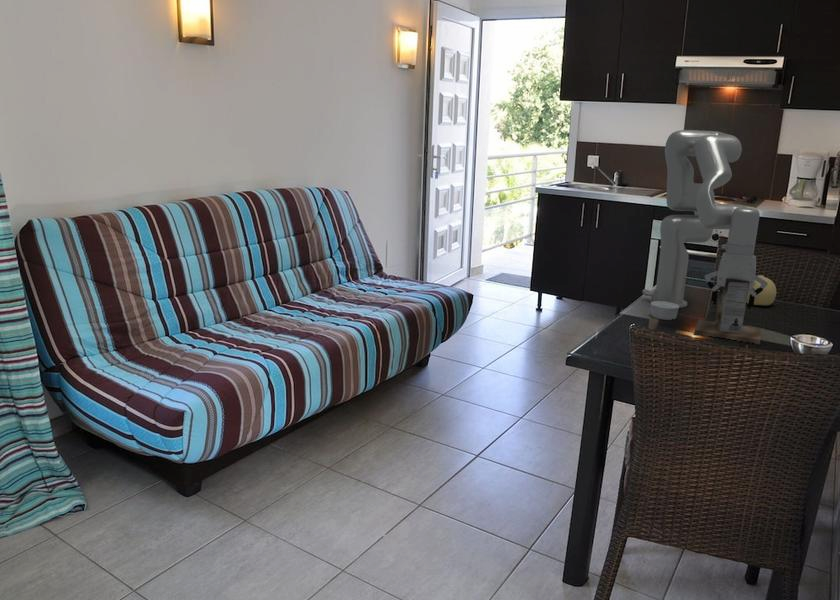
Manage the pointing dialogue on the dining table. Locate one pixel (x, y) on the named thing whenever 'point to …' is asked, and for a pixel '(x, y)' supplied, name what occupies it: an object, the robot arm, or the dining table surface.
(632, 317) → the dining table surface
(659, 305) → the ramekin
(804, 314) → the dining table surface
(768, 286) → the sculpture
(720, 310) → the coffee box
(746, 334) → the walnut board
